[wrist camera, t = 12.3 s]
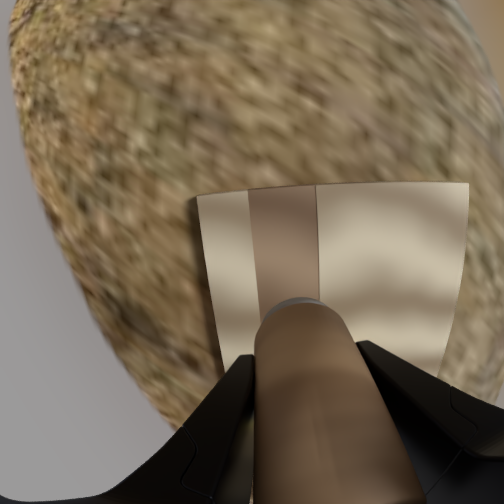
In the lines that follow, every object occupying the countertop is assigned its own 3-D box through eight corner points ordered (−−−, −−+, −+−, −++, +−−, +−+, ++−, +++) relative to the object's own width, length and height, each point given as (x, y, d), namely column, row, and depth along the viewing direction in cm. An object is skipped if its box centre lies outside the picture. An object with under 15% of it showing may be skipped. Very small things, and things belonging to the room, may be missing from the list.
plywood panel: (431, 374, 22) (435, 380, 21) (234, 406, 23) (234, 414, 22) (461, 181, 17) (468, 183, 16) (199, 194, 18) (196, 196, 17)
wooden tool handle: (339, 359, 10) (398, 530, 3) (258, 369, 10) (260, 555, 3) (342, 286, 9) (454, 474, 2) (249, 296, 9) (242, 522, 2)
